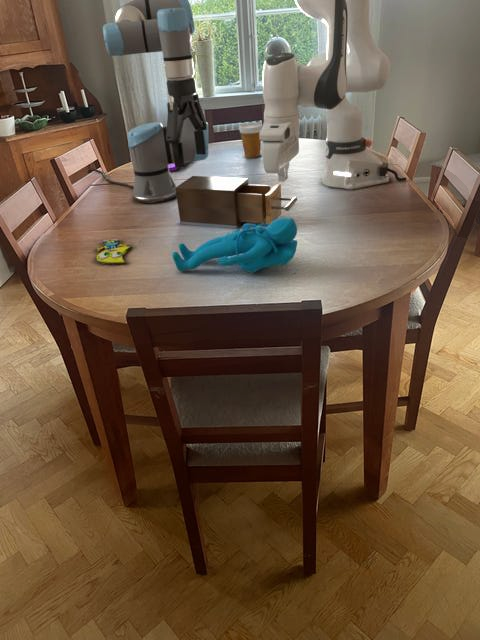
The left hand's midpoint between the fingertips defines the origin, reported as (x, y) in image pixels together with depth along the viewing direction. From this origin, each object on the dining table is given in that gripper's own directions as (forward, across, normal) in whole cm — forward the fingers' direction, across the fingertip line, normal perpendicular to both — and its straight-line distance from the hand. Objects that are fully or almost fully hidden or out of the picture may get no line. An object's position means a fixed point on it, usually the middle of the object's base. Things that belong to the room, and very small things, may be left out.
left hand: (191, 160), depth 137 cm
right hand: (+4, 0, +27) cm, 28 cm away
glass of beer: (+17, -69, -8) cm, 72 cm away
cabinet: (+17, 0, +6) cm, 18 cm away
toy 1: (+17, +28, -12) cm, 35 cm away
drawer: (+16, 0, +19) cm, 25 cm away
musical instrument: (+17, -54, -37) cm, 68 cm away
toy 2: (+17, +29, +24) cm, 42 cm away
